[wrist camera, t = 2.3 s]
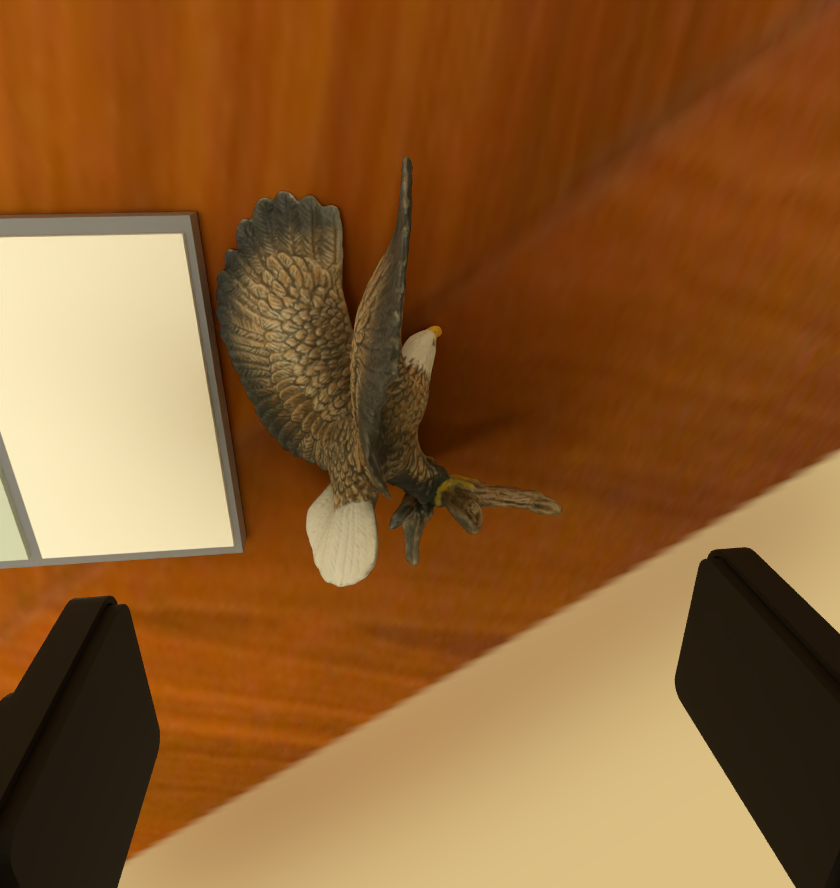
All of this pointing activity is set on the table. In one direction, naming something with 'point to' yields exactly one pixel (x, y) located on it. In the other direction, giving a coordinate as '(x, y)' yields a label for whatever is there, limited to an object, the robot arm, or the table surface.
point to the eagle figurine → (343, 380)
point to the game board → (111, 393)
